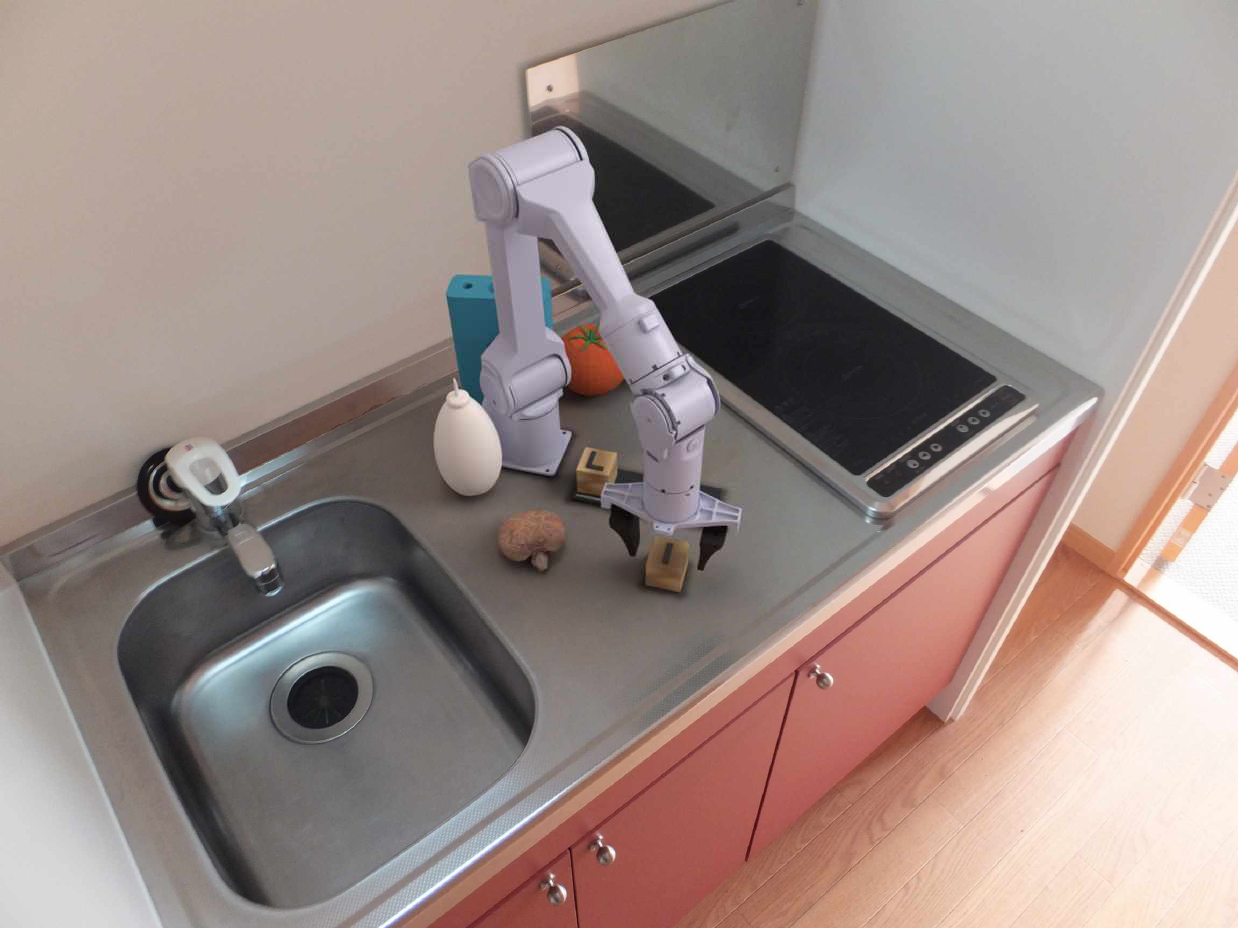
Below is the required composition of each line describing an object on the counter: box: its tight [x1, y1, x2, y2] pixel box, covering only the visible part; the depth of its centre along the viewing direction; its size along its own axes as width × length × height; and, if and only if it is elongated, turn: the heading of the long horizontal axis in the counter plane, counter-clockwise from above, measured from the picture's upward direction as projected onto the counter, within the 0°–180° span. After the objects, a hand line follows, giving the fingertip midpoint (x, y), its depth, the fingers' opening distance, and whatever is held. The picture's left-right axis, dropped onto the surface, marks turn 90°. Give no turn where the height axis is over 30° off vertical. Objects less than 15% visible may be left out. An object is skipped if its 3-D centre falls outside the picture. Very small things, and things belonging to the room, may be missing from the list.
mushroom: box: [497, 509, 567, 572], centre depth 100 cm, size 8×6×8 cm
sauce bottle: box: [433, 377, 502, 497], centre depth 102 cm, size 8×8×18 cm
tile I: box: [645, 536, 690, 593], centre depth 98 cm, size 4×4×4 cm
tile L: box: [575, 446, 618, 496], centre depth 107 cm, size 4×4×4 cm
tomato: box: [560, 323, 625, 397], centre depth 118 cm, size 10×10×10 cm
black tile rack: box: [571, 468, 722, 507], centre depth 107 cm, size 17×6×1 cm, turn 75°
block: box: [445, 274, 555, 406], centre depth 111 cm, size 12×5×20 cm, turn 86°
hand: (668, 556), depth 97 cm, fingers open, 7 cm apart
